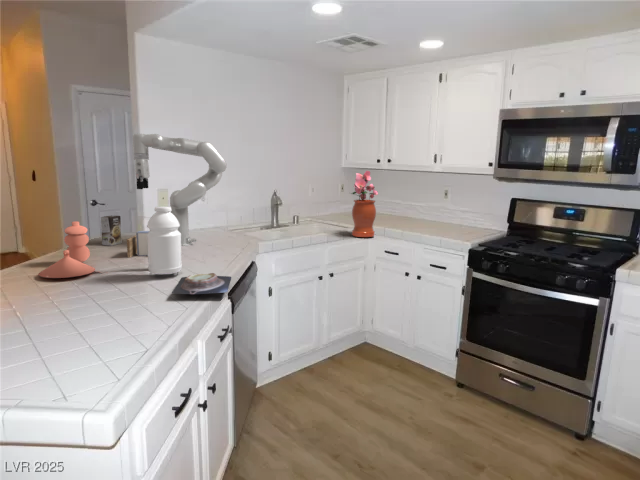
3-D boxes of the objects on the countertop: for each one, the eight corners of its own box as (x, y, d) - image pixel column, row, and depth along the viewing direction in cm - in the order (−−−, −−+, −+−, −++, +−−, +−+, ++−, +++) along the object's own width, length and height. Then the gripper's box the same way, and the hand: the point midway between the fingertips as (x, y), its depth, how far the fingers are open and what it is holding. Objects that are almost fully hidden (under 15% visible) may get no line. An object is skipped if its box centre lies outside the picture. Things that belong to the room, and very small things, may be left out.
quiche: (227, 293, 157) (227, 282, 156) (170, 294, 155) (170, 284, 154) (231, 276, 177) (231, 267, 177) (181, 277, 175) (181, 268, 174)
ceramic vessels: (90, 276, 174) (87, 231, 171) (30, 279, 168) (26, 232, 165) (105, 258, 207) (102, 220, 204) (55, 260, 201) (52, 220, 198)
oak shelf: (165, 251, 226) (164, 235, 224) (157, 257, 211) (157, 239, 210) (136, 251, 224) (135, 235, 222) (127, 257, 210) (126, 239, 208)
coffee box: (111, 245, 239) (110, 217, 236) (101, 245, 240) (100, 216, 237) (122, 243, 247) (120, 215, 245) (112, 242, 249) (111, 215, 246)
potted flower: (352, 238, 282) (355, 170, 274) (344, 232, 307) (347, 169, 299) (380, 238, 285) (383, 170, 277) (370, 232, 310) (373, 170, 302)
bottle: (188, 268, 191) (186, 206, 186) (168, 275, 178) (165, 209, 173) (162, 265, 195) (160, 204, 190) (141, 272, 182) (137, 207, 177)
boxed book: (156, 253, 220) (155, 231, 218) (153, 255, 215) (152, 232, 213) (140, 253, 220) (139, 230, 217) (137, 255, 215) (136, 232, 212)
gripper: (143, 156, 224) (145, 189, 226) (152, 157, 240) (154, 188, 243) (128, 156, 223) (130, 189, 226) (139, 157, 240) (140, 187, 243)
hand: (142, 188), depth 234 cm, fingers open, 9 cm apart
